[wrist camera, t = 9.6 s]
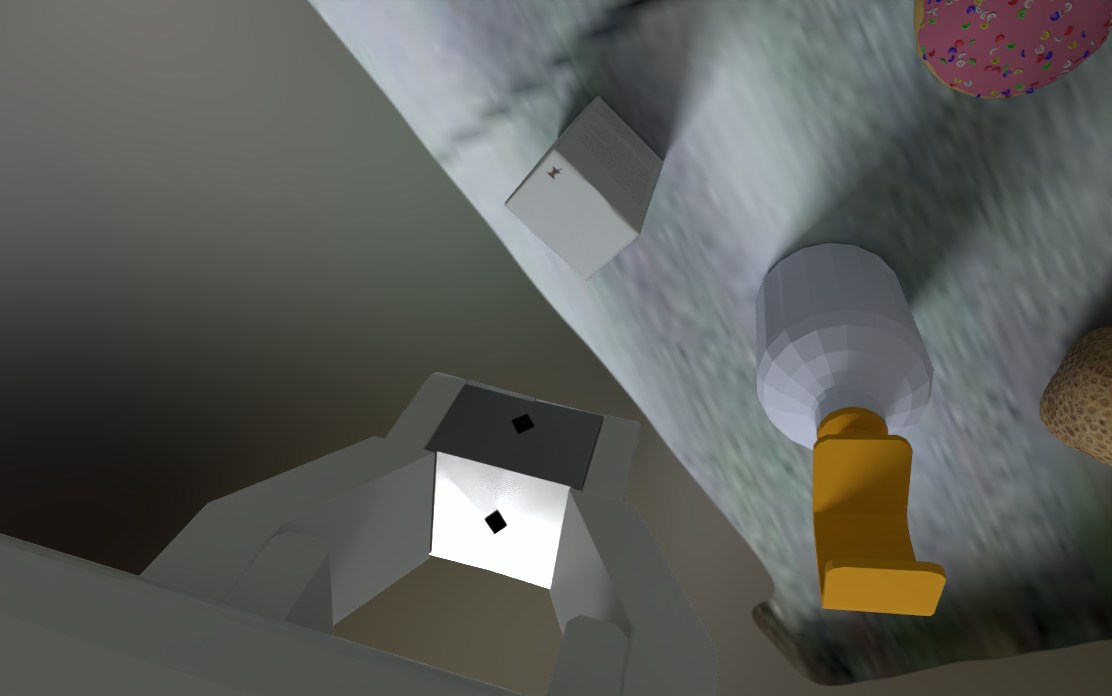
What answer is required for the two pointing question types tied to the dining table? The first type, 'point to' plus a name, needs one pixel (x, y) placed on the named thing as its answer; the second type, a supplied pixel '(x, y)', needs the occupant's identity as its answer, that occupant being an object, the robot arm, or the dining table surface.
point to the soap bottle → (850, 417)
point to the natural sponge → (1083, 397)
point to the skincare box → (589, 190)
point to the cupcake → (1007, 41)
